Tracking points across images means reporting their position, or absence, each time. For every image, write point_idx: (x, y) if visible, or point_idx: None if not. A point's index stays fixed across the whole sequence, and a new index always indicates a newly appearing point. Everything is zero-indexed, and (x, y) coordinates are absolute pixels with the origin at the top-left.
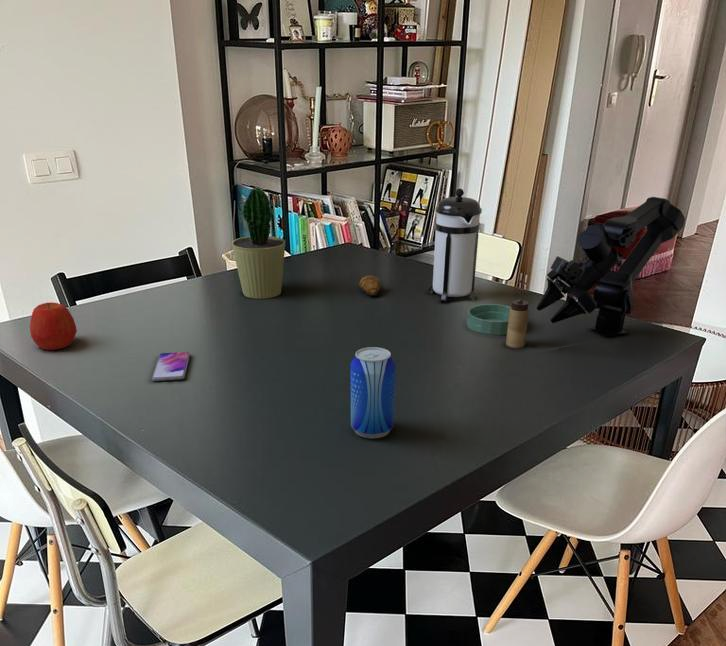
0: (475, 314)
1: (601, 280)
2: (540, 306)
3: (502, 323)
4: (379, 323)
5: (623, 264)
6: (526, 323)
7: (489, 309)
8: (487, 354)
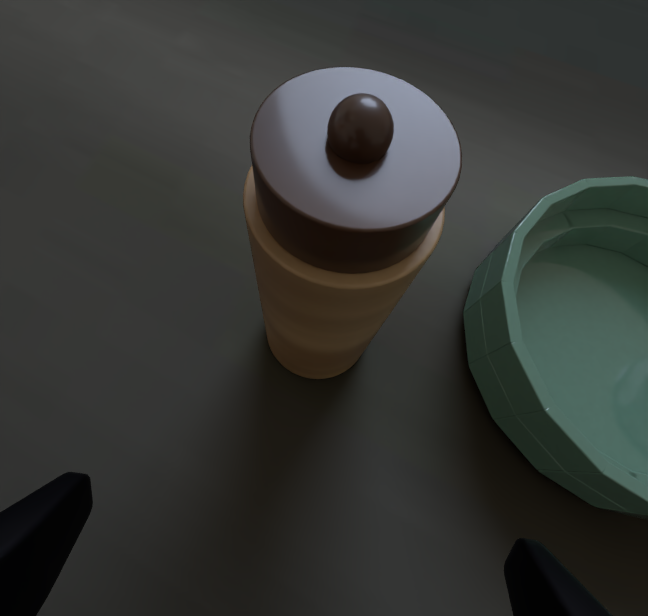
0: None
1: None
2: (534, 595)
3: (496, 292)
4: (643, 7)
5: None
6: (265, 300)
7: None
8: None
